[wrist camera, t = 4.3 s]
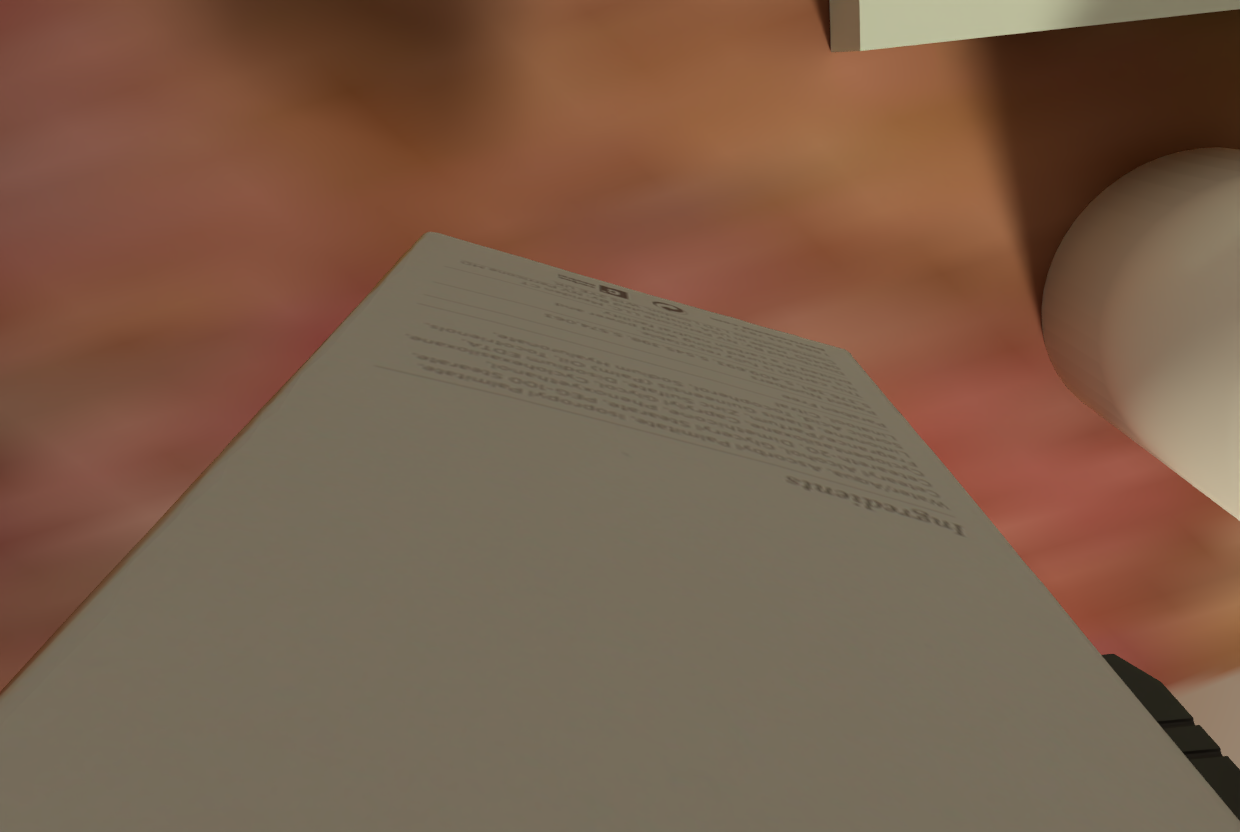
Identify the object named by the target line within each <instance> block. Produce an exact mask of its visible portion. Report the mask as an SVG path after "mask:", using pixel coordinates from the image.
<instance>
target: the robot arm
mask: <svg viewBox="0 0 1240 832" xmlns="http://www.w3.org/2000/svg"><path fill="white" fill-rule="evenodd" d="M1102 657H1103V658H1104V659H1105V660H1106V661H1107V663H1108V664H1109V665H1110V666H1111V667H1112V669H1113V670H1114V671H1115V672H1116V673H1117V675H1118V676H1119V677H1120V678H1121V679H1122V681H1123V682H1124V683H1125V684H1126V685H1127V687H1128V688H1129V689H1130V690H1131V691H1132V693H1133V694H1134V695H1135V696H1136V697H1137V699H1138V700H1139V701H1140V702H1141V703H1142V705H1143V706H1144V707H1145V708H1146V709H1147V711H1148V712H1149V713H1150V714H1151V715H1152V717H1153V718H1154V719H1155V720H1156V721H1157V723H1158V724H1159V725H1160V726H1161V727H1162V729H1163V730H1164V731H1165V732H1166V733H1167V735H1168V736H1169V737H1170V738H1171V739H1172V741H1173V742H1174V743H1175V744H1176V745H1177V747H1178V748H1179V749H1180V750H1181V751H1182V753H1183V754H1184V755H1185V756H1186V757H1187V758H1188V760H1189V761H1190V762H1191V763H1192V764H1193V766H1194V767H1195V768H1196V769H1197V770H1198V772H1199V773H1200V774H1201V775H1202V776H1203V778H1204V779H1205V780H1206V781H1207V782H1208V784H1209V785H1210V786H1211V787H1212V788H1213V790H1214V791H1215V792H1216V793H1217V794H1218V796H1219V797H1220V798H1221V799H1222V800H1223V802H1224V803H1225V804H1226V805H1227V806H1228V808H1229V809H1230V810H1231V811H1232V812H1233V814H1234V815H1235V816H1236V817H1237V818H1238V820H1239V821H1240V770H1239V768H1238V767H1237V766H1236V765H1235V764H1234V763H1233V762H1232V761H1231V760H1230V759H1229V757H1228V756H1222V754H1221V751H1220V747H1219V746H1218V745H1217V744H1216V743H1215V742H1214V741H1213V739H1212V738H1211V737H1210V736H1209V735H1208V734H1207V733H1206V732H1205V731H1204V729H1202V727H1201V726H1200V725H1196V726H1195V724H1194V721H1193V717H1192V716H1191V715H1190V714H1189V713H1188V712H1187V711H1186V710H1185V708H1184V707H1183V706H1182V705H1181V704H1180V703H1179V702H1178V700H1177V699H1176V698H1175V697H1174V696H1173V695H1172V694H1171V693H1170V691H1169V690H1168V689H1167V688H1166V687H1165V686H1164V685H1163V684H1162V683H1161V682H1160V681H1158V680H1157V679H1155V678H1153V677H1152V676H1150V675H1148V674H1147V673H1145V672H1143V671H1142V670H1140V669H1138V668H1137V667H1135V666H1133V665H1132V664H1130V663H1128V662H1127V661H1125V660H1123V659H1121V658H1120V657H1118V656H1116V655H1115V654H1107V655H1102Z"/></svg>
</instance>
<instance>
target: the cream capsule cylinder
mask: <svg viewBox="0 0 1240 832" xmlns="http://www.w3.org/2000/svg"><path fill="white" fill-rule="evenodd" d="M1041 310H1042V330H1043V336H1044V342H1045V346H1046V349H1047V352H1048V355H1049V358H1050V360H1051V362H1052V364H1053V366H1054V368H1055V371H1056V373H1057V374H1058V376H1059V377H1060V379H1061V380H1062V381H1063V383H1064V384H1065V386H1066V387H1067V388H1068V389H1069V390H1070V391H1071V392H1072V393H1073V394H1074V395H1075V396H1076V397H1077V398H1078V399H1079V400H1080V401H1081V402H1083V403H1084V404H1085V405H1087V406H1088V407H1089V408H1091V409H1092V410H1093V411H1095V412H1096V413H1097V414H1099V415H1100V416H1101V417H1103V418H1104V419H1105V420H1107V421H1108V422H1109V423H1111V424H1112V425H1113V426H1115V427H1116V428H1117V429H1119V430H1120V431H1121V432H1123V433H1124V434H1125V435H1127V436H1128V437H1129V438H1131V439H1132V440H1133V441H1135V442H1136V443H1137V444H1139V445H1140V446H1141V447H1142V448H1144V449H1145V450H1146V451H1148V452H1149V453H1150V454H1152V455H1153V456H1154V457H1156V458H1157V459H1158V460H1160V461H1161V462H1162V463H1164V464H1165V465H1166V466H1168V467H1169V468H1170V469H1172V470H1173V471H1174V472H1176V473H1177V474H1178V475H1180V476H1181V477H1182V478H1184V479H1185V480H1186V481H1188V482H1189V483H1190V484H1192V485H1193V486H1194V487H1196V488H1197V489H1198V490H1200V491H1201V492H1202V493H1204V494H1205V495H1206V496H1208V497H1209V498H1210V499H1212V500H1213V501H1214V502H1216V503H1217V504H1218V505H1219V506H1221V507H1222V508H1223V509H1225V510H1226V511H1227V512H1229V513H1230V514H1231V515H1233V516H1234V517H1235V518H1237V519H1238V520H1239V521H1240V149H1231V148H1221V147H1216V148H1197V149H1191V150H1186V151H1180V152H1176V153H1173V154H1170V155H1166V156H1163V157H1160V158H1157V159H1155V160H1153V161H1150V162H1148V163H1146V164H1144V165H1141V166H1139V167H1138V168H1136V169H1134V170H1132V171H1131V172H1129V173H1127V174H1125V175H1124V176H1122V177H1121V178H1119V179H1118V180H1117V181H1115V182H1114V183H1113V184H1111V185H1110V186H1108V187H1107V188H1106V189H1105V190H1103V191H1102V192H1101V193H1100V194H1099V195H1098V196H1097V197H1096V198H1095V199H1094V200H1093V201H1092V202H1090V203H1089V205H1088V206H1087V207H1086V208H1085V209H1084V210H1083V212H1082V213H1081V214H1080V215H1079V216H1078V217H1077V218H1076V220H1075V221H1074V223H1073V224H1072V226H1071V227H1070V229H1069V230H1068V231H1067V233H1066V234H1065V236H1064V238H1063V240H1062V241H1061V243H1060V245H1059V247H1058V249H1057V251H1056V253H1055V255H1054V258H1053V260H1052V263H1051V266H1050V268H1049V271H1048V274H1047V278H1046V282H1045V286H1044V290H1043V299H1042V308H1041Z"/></svg>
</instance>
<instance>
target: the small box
mask: <svg viewBox="0 0 1240 832" xmlns="http://www.w3.org/2000/svg"><path fill="white" fill-rule="evenodd" d="M0 832H1240V821H1239V820H1238V818H1237V817H1236V816H1235V815H1234V814H1233V812H1232V811H1231V810H1230V809H1229V808H1228V806H1227V805H1226V804H1225V803H1224V802H1223V800H1222V799H1221V798H1220V797H1219V796H1218V794H1217V793H1216V792H1215V791H1214V790H1213V788H1212V787H1211V786H1210V785H1209V784H1208V782H1207V781H1206V780H1205V779H1204V778H1203V776H1202V775H1201V774H1200V773H1199V772H1198V770H1197V769H1196V768H1195V767H1194V766H1193V764H1192V763H1191V762H1190V761H1189V760H1188V758H1187V757H1186V756H1185V755H1184V754H1183V753H1182V751H1181V750H1180V749H1179V748H1178V747H1177V745H1176V744H1175V743H1174V742H1173V741H1172V739H1171V738H1170V737H1169V736H1168V735H1167V733H1166V732H1165V731H1164V730H1163V729H1162V727H1161V726H1160V725H1159V724H1158V723H1157V721H1156V720H1155V719H1154V718H1153V717H1152V715H1151V714H1150V713H1149V712H1148V711H1147V709H1146V708H1145V707H1144V706H1143V705H1142V703H1141V702H1140V701H1139V700H1138V699H1137V697H1136V696H1135V695H1134V694H1133V693H1132V691H1131V690H1130V689H1129V688H1128V687H1127V685H1126V684H1125V683H1124V682H1123V681H1122V679H1121V678H1120V677H1119V676H1118V675H1117V673H1116V672H1115V671H1114V670H1113V669H1112V667H1111V666H1110V665H1109V664H1108V663H1107V661H1106V660H1105V659H1104V658H1103V657H1102V655H1101V654H1100V653H1099V652H1098V651H1097V649H1096V648H1095V647H1094V646H1093V645H1092V643H1091V642H1090V641H1089V640H1088V638H1087V637H1086V636H1085V635H1084V634H1083V632H1082V631H1081V630H1080V629H1079V627H1078V626H1077V625H1076V624H1075V623H1074V621H1073V620H1072V619H1071V618H1070V616H1069V615H1068V614H1067V613H1066V612H1065V610H1064V609H1063V608H1062V607H1061V605H1060V604H1059V603H1058V602H1057V600H1056V599H1055V598H1054V597H1053V596H1052V594H1051V593H1050V592H1049V591H1048V589H1047V588H1046V587H1045V586H1044V584H1043V583H1042V582H1041V581H1040V580H1039V579H1038V578H1037V576H1036V575H1035V574H1034V573H1033V572H1032V571H1031V570H1030V568H1029V567H1028V566H1027V565H1026V564H1025V563H1024V561H1023V560H1022V559H1021V558H1020V556H1019V555H1018V554H1017V553H1016V551H1015V550H1014V549H1013V548H1012V546H1011V545H1010V544H1009V543H1008V541H1007V540H1006V539H1005V538H1004V537H1003V535H1002V534H1001V533H1000V532H999V530H998V529H997V528H996V527H995V526H994V524H993V523H992V522H991V521H990V520H989V518H988V517H987V516H986V515H985V514H984V512H983V511H982V510H981V509H980V508H979V506H978V505H977V504H976V503H975V501H974V500H973V499H972V498H971V497H970V495H969V494H968V493H967V492H966V491H965V489H964V488H963V487H962V486H961V485H960V483H959V482H958V481H957V480H956V478H955V477H954V476H953V475H952V474H951V472H950V471H949V470H948V469H947V468H946V467H945V465H944V464H943V463H942V462H941V461H940V459H939V458H938V457H937V456H936V455H935V453H934V452H933V451H932V450H931V449H930V448H929V447H928V445H927V444H926V443H925V442H924V441H923V440H922V439H921V437H920V436H919V435H918V434H917V433H916V432H915V430H914V429H913V428H912V427H911V425H910V424H909V423H908V422H907V420H906V419H905V418H904V417H903V416H902V415H901V414H900V412H899V411H898V410H897V409H896V408H895V407H894V406H893V404H892V403H891V402H890V401H889V400H888V399H887V397H886V396H885V395H884V394H883V393H882V391H881V390H880V389H879V388H878V386H877V385H876V384H875V383H874V382H873V381H872V379H871V378H870V377H869V376H868V375H867V373H866V372H865V371H864V370H863V369H862V367H861V366H860V365H859V364H858V363H857V361H856V360H855V359H854V358H853V357H852V355H851V354H850V353H849V352H848V351H846V350H845V349H841V348H837V347H834V346H830V345H827V344H823V343H820V342H816V341H812V340H808V339H804V338H801V337H798V336H796V335H792V334H788V333H784V332H780V331H776V330H773V329H769V328H766V327H762V326H758V325H755V324H751V323H748V322H745V321H742V320H739V319H735V318H732V317H728V316H724V315H721V314H717V313H713V312H709V311H706V310H702V309H699V308H695V307H692V306H688V305H685V304H681V303H677V302H674V301H670V300H666V299H663V298H659V297H655V296H652V295H648V294H645V293H641V292H638V291H635V290H631V289H628V288H624V287H621V286H617V285H614V284H611V283H607V282H604V281H600V280H597V279H593V278H590V277H586V276H583V275H579V274H576V273H572V272H569V271H566V270H562V269H559V268H556V267H552V266H549V265H546V264H543V263H539V262H536V261H533V260H529V259H526V258H522V257H519V256H515V255H512V254H508V253H505V252H501V251H498V250H494V249H491V248H487V247H484V246H480V245H477V244H473V243H470V242H467V241H463V240H460V239H457V238H453V237H450V236H446V235H443V234H440V233H434V232H427V233H425V234H423V235H422V236H421V237H420V238H419V239H418V240H417V241H416V242H415V243H414V245H413V246H412V247H411V248H410V249H409V250H408V251H407V252H406V253H405V254H404V255H403V256H402V257H401V258H400V259H399V260H398V261H397V262H396V264H395V265H394V266H393V267H392V268H391V269H390V270H389V271H388V272H387V273H386V274H385V275H384V277H383V278H382V279H381V280H380V281H379V282H378V283H377V285H376V286H375V287H374V288H373V289H372V291H371V292H370V293H369V294H368V295H367V296H366V297H365V298H364V299H363V300H362V302H361V303H360V304H359V305H358V306H357V307H356V308H355V309H354V310H353V311H352V312H351V313H350V314H349V316H348V317H347V318H346V319H345V320H344V321H343V322H342V323H341V324H340V325H339V326H338V327H337V329H336V330H335V331H334V332H333V333H332V334H331V335H330V336H329V337H328V338H327V339H326V340H325V341H324V343H323V344H322V345H321V346H320V347H319V348H318V349H317V350H316V351H315V352H314V353H313V354H312V356H311V357H310V358H309V359H308V360H307V361H306V362H305V363H304V364H303V365H302V366H301V367H300V368H299V369H298V371H297V372H296V373H295V374H294V375H293V376H292V377H291V378H290V379H289V380H288V381H287V382H286V383H285V384H284V385H283V386H282V387H281V388H280V390H279V391H278V392H277V393H276V394H275V395H274V396H273V397H272V398H271V399H270V400H269V401H268V402H267V403H266V404H265V405H264V406H263V407H262V408H261V409H260V410H259V411H258V413H257V414H256V415H255V416H254V417H253V418H252V419H251V420H250V422H249V423H248V424H247V425H246V426H245V427H244V428H243V429H242V430H241V431H240V432H239V433H238V434H237V435H236V436H235V437H234V438H233V439H232V441H231V442H230V443H229V444H228V445H227V446H226V448H225V449H224V450H223V451H222V452H221V453H220V455H219V456H218V457H217V458H216V459H215V460H214V461H213V462H212V463H211V464H210V465H209V466H208V467H207V468H206V469H205V470H204V471H203V473H202V474H201V475H200V476H199V477H198V478H197V479H196V480H195V481H194V482H193V483H192V484H191V485H190V487H189V488H188V489H187V490H186V491H185V492H184V493H183V494H182V495H181V496H180V498H179V499H178V500H177V501H176V502H175V503H174V504H173V505H172V506H171V507H170V509H169V510H168V511H167V512H166V513H165V514H164V515H163V516H162V517H161V518H160V520H159V521H158V522H157V523H156V524H155V525H154V526H153V527H152V528H151V529H150V530H149V531H148V533H147V534H146V535H145V536H144V537H143V538H142V539H141V540H140V541H139V542H138V543H137V544H136V545H135V546H134V547H133V549H132V550H131V551H130V552H129V553H128V554H127V555H126V556H125V557H124V558H123V559H122V560H121V561H120V562H119V563H118V565H117V566H116V567H115V568H114V569H113V570H112V571H111V572H110V573H109V574H108V575H107V576H106V577H105V578H104V579H103V581H102V582H101V583H100V584H99V585H98V586H97V587H96V588H95V589H94V590H93V591H92V592H91V593H90V594H89V596H88V597H87V598H86V599H85V600H84V601H83V602H82V603H81V604H80V605H79V607H78V608H77V609H76V610H75V611H74V612H73V613H72V614H71V615H70V616H69V617H68V619H67V620H66V621H65V622H64V623H63V624H62V625H61V626H60V627H59V628H58V629H57V631H56V632H55V633H54V634H53V635H52V636H51V637H50V638H49V639H48V640H47V641H46V643H45V644H44V645H43V646H42V647H41V648H40V649H39V650H38V651H37V652H36V654H35V655H34V656H33V657H32V658H31V659H30V660H29V661H28V662H27V663H26V664H25V666H24V667H23V668H22V669H21V670H20V671H19V672H18V673H17V674H16V675H15V676H14V678H13V679H12V680H11V681H10V682H9V683H8V684H7V685H6V686H5V687H4V688H3V690H2V691H1V692H0Z"/></svg>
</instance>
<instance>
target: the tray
mask: <svg viewBox="0 0 1240 832" xmlns="http://www.w3.org/2000/svg"><path fill="white" fill-rule="evenodd" d="M829 3H830V38H831V52H845V51H864V50H873V49H882V48H891V47H900V46H909V45H918V44H927V43H936V42H945V41H954V40H964V39H973V38H982V37H991V36H1000V35H1009V34H1018V33H1027V32H1036V31H1045V30H1054V29H1063V28H1072V27H1081V26H1091V25H1100V24H1109V23H1118V22H1127V21H1136V20H1145V19H1154V18H1163V17H1172V16H1181V15H1190V14H1199V13H1209V12H1218V11H1227V10H1236V9H1240V0H829Z"/></svg>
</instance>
